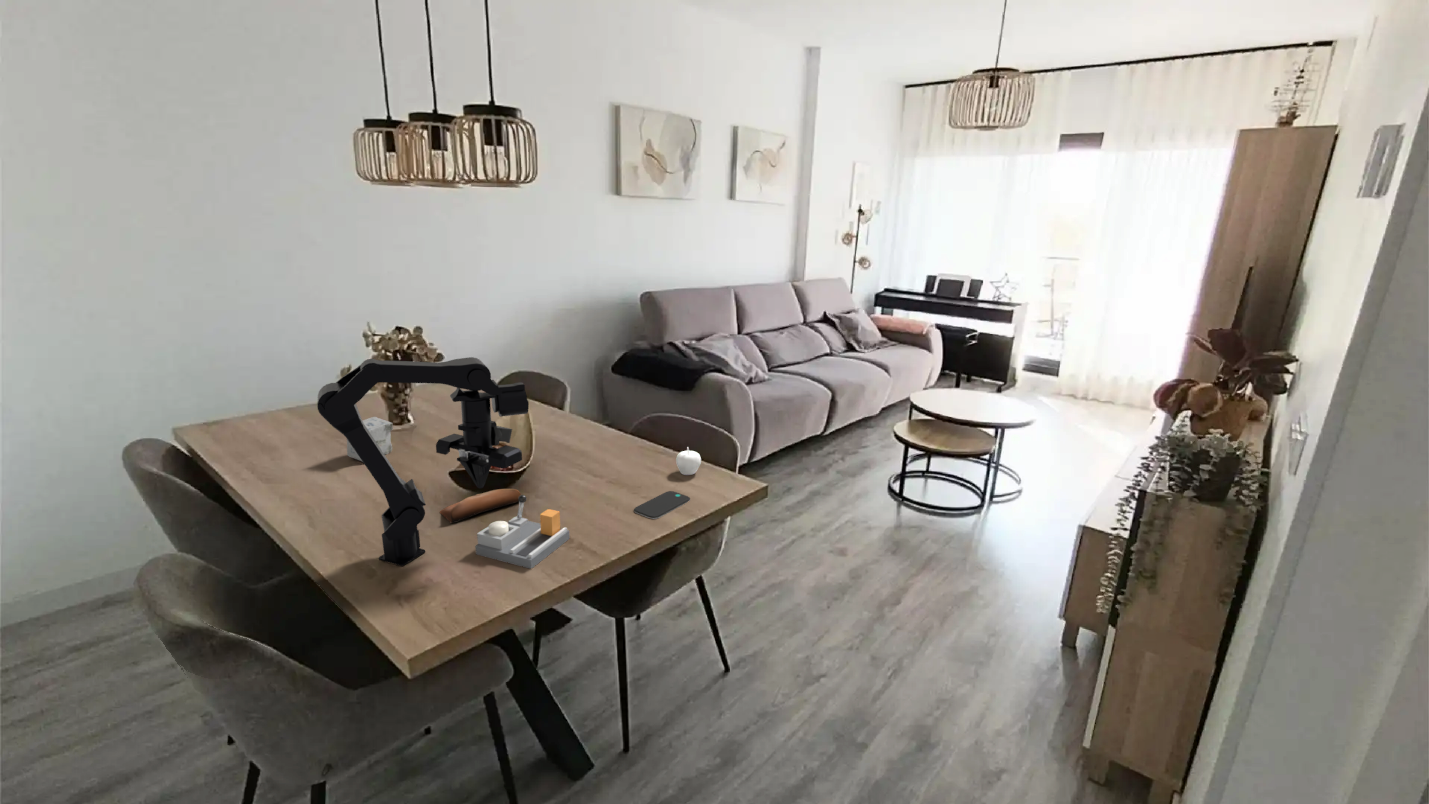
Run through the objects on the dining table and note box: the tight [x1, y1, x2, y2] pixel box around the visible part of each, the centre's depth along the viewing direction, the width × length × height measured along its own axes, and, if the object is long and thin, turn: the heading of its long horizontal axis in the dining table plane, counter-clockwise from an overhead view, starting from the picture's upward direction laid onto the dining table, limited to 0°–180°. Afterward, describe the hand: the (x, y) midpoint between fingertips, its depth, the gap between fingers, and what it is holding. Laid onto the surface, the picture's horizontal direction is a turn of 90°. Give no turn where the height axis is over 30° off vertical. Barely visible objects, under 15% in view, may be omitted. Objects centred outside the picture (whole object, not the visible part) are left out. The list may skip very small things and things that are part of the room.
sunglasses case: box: [439, 488, 522, 524], centre depth 159 cm, size 18×7×7 cm
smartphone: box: [633, 490, 691, 520], centre depth 165 cm, size 8×1×15 cm
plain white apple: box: [675, 446, 702, 476], centre depth 184 cm, size 7×7×8 cm
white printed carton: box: [346, 416, 394, 463], centre depth 186 cm, size 10×8×10 cm
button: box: [488, 520, 509, 537], centre depth 140 cm, size 4×4×3 cm
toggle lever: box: [516, 494, 527, 519], centre depth 149 cm, size 2×2×5 cm
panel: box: [475, 516, 571, 570], centre depth 142 cm, size 14×14×4 cm
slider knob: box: [539, 508, 561, 536], centre depth 144 cm, size 3×3×5 cm
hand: (480, 487), depth 141 cm, fingers closed
